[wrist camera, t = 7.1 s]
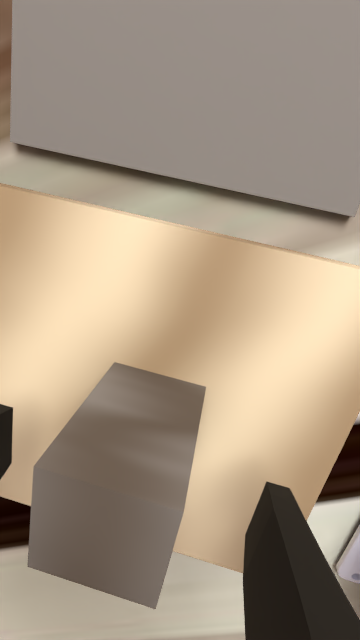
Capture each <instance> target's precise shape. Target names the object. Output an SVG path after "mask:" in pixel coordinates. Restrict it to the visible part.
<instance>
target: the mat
mask: <svg viewBox="0 0 360 640" xmlns="http://www.w3.org/2000/svg"><path fill="white" fill-rule="evenodd" d="M10 142H12V143H16V144H20V145H25V146H30V147H34V148H39V149H43V150H48V151H53V152H57V153H62V154H66V155H71V156H75V157H80V158H85V159H89V160H94V161H98V162H103V163H108V164H112V165H117V166H121V167H126V168H131V169H135V170H140V171H144V172H149V173H153V174H158V175H163V176H167V177H172V178H176V179H181V180H186V181H190V182H195V183H199V184H204V185H209V186H213V187H218V188H222V189H227V190H231V191H236V192H241V193H245V194H250V195H254V196H259V197H264V198H268V199H273V200H277V201H282V202H287V203H291V204H296V205H300V206H305V207H309V208H314V209H319V210H323V211H328V212H332V213H337V214H342V215H346V216H351V217H355V215H356V212H357V210H358V207H359V204H360V0H13V1H12V62H11V123H10Z"/></svg>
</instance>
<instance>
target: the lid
mask: <svg viewBox="0 0 360 640" xmlns="http://www.w3.org/2000/svg"><path fill="white" fill-rule="evenodd" d="M0 404H2V405H6V406H9V407H13V430H12V463H11V465H10V466H9V468H8V469H7V471H6V472H5V474H4V475H3V477H2V478H1V480H0V496H1V497H4V498H7V499H10V500H13V501H16V502H20V503H23V504H26V505H29V506H31V518H30V535H29V552H28V567H31V568H33V569H36V570H39V571H42V572H45V573H48V574H51V575H54V576H57V577H60V578H63V579H66V580H69V581H72V582H75V583H78V584H81V585H84V586H87V587H90V588H93V589H96V590H99V591H102V592H105V593H108V594H111V595H114V596H117V597H120V598H123V599H126V600H129V601H132V602H135V603H138V604H141V605H144V606H147V607H150V608H153V609H156V605H157V602H158V599H159V595H160V592H161V588H162V585H163V581H164V578H165V575H166V571H167V568H168V564H169V561H170V558H171V554H172V551H174V552H177V553H181V554H184V555H187V556H190V557H193V558H196V559H200V560H203V561H206V562H209V563H212V564H215V565H219V566H222V567H225V568H228V569H231V570H234V571H237V572H241V573H243V566H244V547H245V534H246V532H247V529H248V526H249V524H250V521H251V519H252V516H253V514H254V511H255V509H256V506H257V504H258V501H259V499H260V496H261V494H262V491H263V489H264V486H265V484H266V481H267V482H271V483H274V484H277V485H281V486H284V487H288V488H290V490H291V491H292V493H293V495H294V497H295V499H296V501H297V503H298V505H299V507H300V509H301V511H302V513H303V515H304V517H305V519H306V521H307V519H308V517H309V515H310V512H311V510H312V508H313V506H314V504H315V502H316V500H317V498H318V496H319V494H320V492H321V490H322V488H323V486H324V484H325V482H326V480H327V478H328V475H329V473H330V471H331V469H332V467H333V465H334V463H335V461H336V459H337V457H338V455H339V453H340V451H341V449H342V447H343V445H344V443H345V441H346V438H347V436H348V434H349V432H350V430H351V428H352V426H353V424H354V422H355V420H356V418H357V416H358V414H359V412H360V266H357V265H353V264H349V263H344V262H340V261H336V260H331V259H327V258H323V257H318V256H314V255H310V254H305V253H301V252H297V251H292V250H288V249H284V248H279V247H275V246H271V245H266V244H262V243H258V242H253V241H249V240H245V239H240V238H236V237H232V236H227V235H223V234H219V233H214V232H210V231H206V230H201V229H197V228H193V227H189V226H184V225H180V224H176V223H171V222H167V221H163V220H158V219H154V218H150V217H145V216H141V215H137V214H132V213H128V212H124V211H119V210H115V209H111V208H106V207H102V206H98V205H93V204H89V203H85V202H80V201H76V200H72V199H67V198H63V197H59V196H54V195H50V194H46V193H41V192H37V191H33V190H28V189H24V188H20V187H15V186H11V185H7V184H2V183H0Z"/></svg>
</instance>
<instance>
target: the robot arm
mask: <svg viewBox="0 0 360 640" xmlns="http://www.w3.org/2000/svg"><path fill="white" fill-rule="evenodd" d="M12 430H13V407H9V406H6V405H2V404H0V480H1V478H2V477H3V475H4V474H5V472H6V471H7V469H8V468H9V466H10V465H11V463H12ZM336 569H337V573H338V575H339V576H340V577H341V578H343V579H345V580H349V581H352V582H355V583H358V584H360V525H359V526H358V528H357V530H356V532H355V533H354V535H353V537H352V539H351V540H350V542H349V544H348V546H347V547H346V549H345V551H344V553H343V554H342V556H341V558H340V560H339V561H338V563H337V565H336ZM243 593H244V615H245V636H246V640H360V620H359V618H358V616H357V615H356V613H355V611H354V609H353V608H352V606H351V604H350V602H349V601H348V599H347V597H346V595H345V594H344V592H343V590H342V588H341V586H340V585H339V583H338V581H337V579H336V577H335V575H334V573H333V572H332V570H331V568H330V566H329V564H328V562H327V561H326V559H325V557H324V555H323V553H322V551H321V549H320V547H319V545H318V543H317V541H316V539H315V537H314V535H313V533H312V531H311V530H310V528H309V526H308V524H307V521H306V519H305V517H304V515H303V513H302V511H301V509H300V507H299V505H298V503H297V501H296V499H295V497H294V495H293V493H292V491H291V490H290V488H288V487H284V486H281V485H277V484H274V483H271V482H267V481H266V484H265V486H264V489H263V491H262V494H261V496H260V499H259V501H258V504H257V506H256V509H255V511H254V514H253V516H252V519H251V521H250V524H249V526H248V529H247V532H246V534H245V547H244V566H243Z"/></svg>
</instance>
